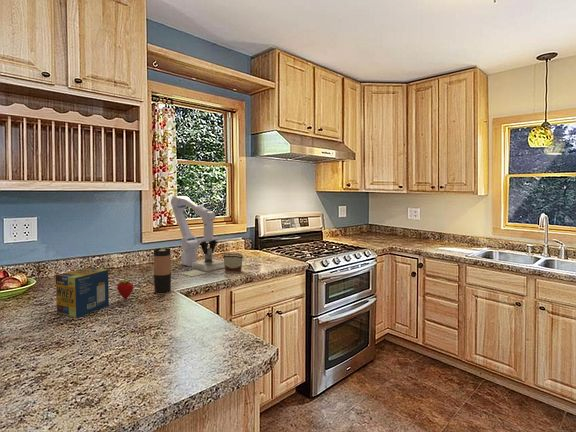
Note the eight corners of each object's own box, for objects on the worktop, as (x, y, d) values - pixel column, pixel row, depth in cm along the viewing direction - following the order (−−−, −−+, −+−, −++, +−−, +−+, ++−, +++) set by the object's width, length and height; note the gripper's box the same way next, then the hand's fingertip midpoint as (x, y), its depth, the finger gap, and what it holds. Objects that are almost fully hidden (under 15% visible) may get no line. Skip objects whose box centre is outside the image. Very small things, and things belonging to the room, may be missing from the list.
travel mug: (161, 294, 161) (160, 251, 160) (150, 291, 165) (149, 249, 164) (174, 290, 168) (174, 249, 166) (164, 288, 172) (163, 247, 170)
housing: (191, 267, 214) (191, 262, 213) (210, 263, 225) (210, 258, 224) (207, 271, 205) (206, 265, 205) (225, 267, 216) (225, 261, 216)
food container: (245, 269, 211) (245, 253, 210) (243, 272, 205) (243, 255, 204) (225, 269, 212) (225, 252, 211) (222, 271, 206) (222, 254, 205)
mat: (180, 273, 199) (180, 273, 199) (195, 270, 207) (195, 269, 207) (191, 276, 193) (191, 276, 193) (206, 273, 201) (206, 272, 201)
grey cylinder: (203, 261, 214) (203, 248, 213) (209, 259, 218) (209, 247, 217) (208, 262, 212) (208, 248, 211) (213, 260, 215) (213, 247, 214)
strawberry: (124, 302, 150) (124, 279, 149) (113, 299, 154) (113, 277, 153) (136, 299, 155) (136, 276, 154) (126, 295, 159) (125, 274, 158)
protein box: (56, 314, 136) (54, 274, 134) (91, 302, 150) (90, 266, 149) (75, 318, 132) (74, 278, 131) (109, 305, 146) (108, 269, 145)
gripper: (203, 233, 205) (203, 256, 206) (222, 230, 216) (222, 252, 217) (195, 231, 209) (195, 254, 210) (214, 229, 221) (214, 251, 222)
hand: (208, 253), depth 214 cm, fingers closed on grey cylinder, 4 cm apart
